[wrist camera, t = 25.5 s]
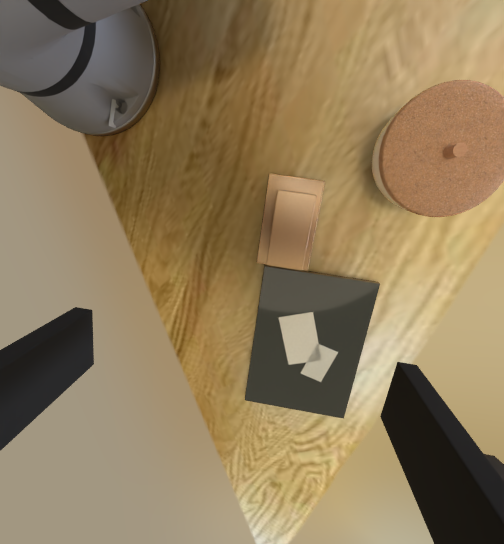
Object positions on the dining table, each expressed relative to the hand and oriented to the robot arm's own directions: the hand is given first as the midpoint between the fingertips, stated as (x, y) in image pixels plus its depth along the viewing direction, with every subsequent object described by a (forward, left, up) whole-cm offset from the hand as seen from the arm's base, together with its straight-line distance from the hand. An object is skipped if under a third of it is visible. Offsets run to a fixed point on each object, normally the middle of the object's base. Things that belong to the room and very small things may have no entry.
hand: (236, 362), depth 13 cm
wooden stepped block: (-4, +2, -25) cm, 25 cm away
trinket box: (-12, +14, -25) cm, 31 cm away
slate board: (+12, +7, -25) cm, 28 cm away
